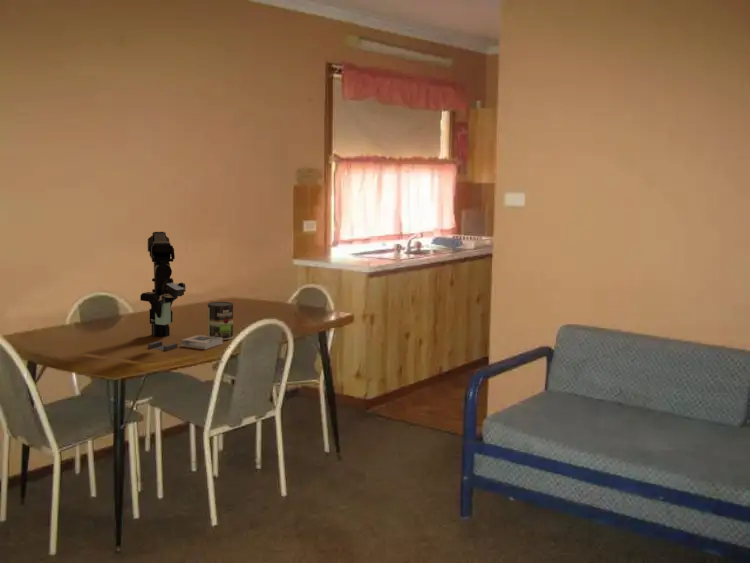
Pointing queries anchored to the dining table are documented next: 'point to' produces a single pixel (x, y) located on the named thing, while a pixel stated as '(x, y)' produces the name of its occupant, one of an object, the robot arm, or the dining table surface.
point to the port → (202, 341)
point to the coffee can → (220, 320)
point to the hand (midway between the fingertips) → (163, 316)
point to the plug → (164, 314)
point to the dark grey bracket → (162, 346)
